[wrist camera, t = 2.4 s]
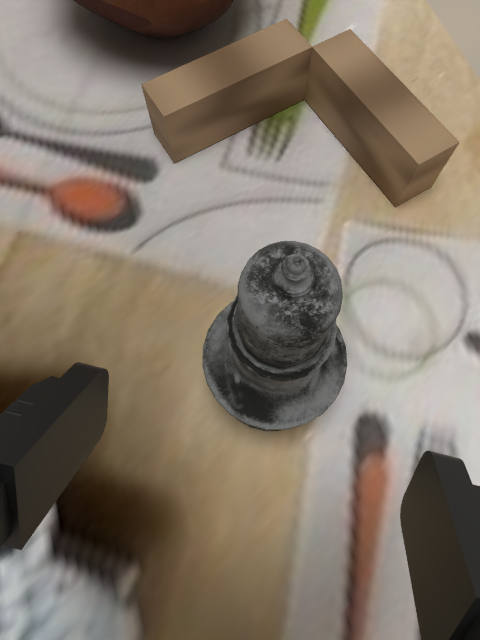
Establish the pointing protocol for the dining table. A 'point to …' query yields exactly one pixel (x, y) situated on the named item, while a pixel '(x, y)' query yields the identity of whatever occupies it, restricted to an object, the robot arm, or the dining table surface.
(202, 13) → the butternut squash
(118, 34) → the dining table surface
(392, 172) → the v block
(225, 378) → the salt shaker
